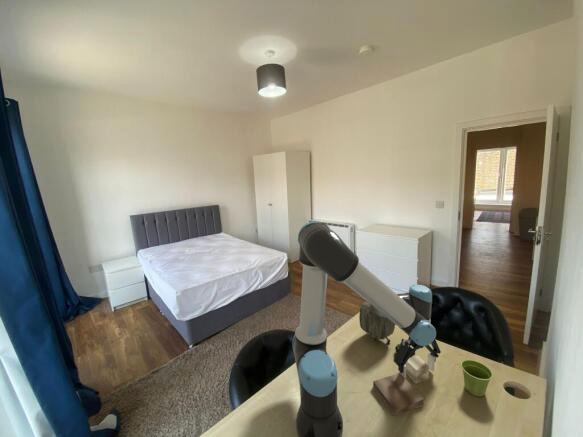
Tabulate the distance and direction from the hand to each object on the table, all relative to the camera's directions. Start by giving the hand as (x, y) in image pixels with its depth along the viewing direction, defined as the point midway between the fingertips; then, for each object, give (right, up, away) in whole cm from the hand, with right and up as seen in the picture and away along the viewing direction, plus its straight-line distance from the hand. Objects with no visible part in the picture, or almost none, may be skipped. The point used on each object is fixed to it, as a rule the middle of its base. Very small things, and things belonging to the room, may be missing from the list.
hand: (416, 373), depth 99 cm
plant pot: (+18, -2, -7) cm, 19 cm away
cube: (0, -1, 0) cm, 1 cm away
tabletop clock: (-9, +3, +22) cm, 24 cm away
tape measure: (0, +1, +12) cm, 12 cm away
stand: (-11, -3, -8) cm, 14 cm away
